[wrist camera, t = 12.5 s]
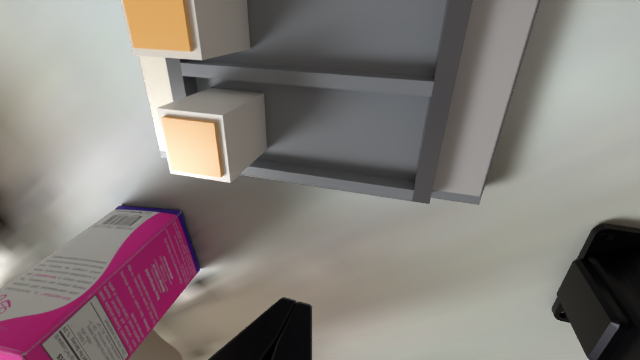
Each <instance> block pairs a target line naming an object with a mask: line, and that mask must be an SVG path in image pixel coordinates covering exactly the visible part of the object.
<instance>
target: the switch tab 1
mask: <svg viewBox="0 0 640 360" xmlns="http://www.w3.org/2000/svg"><path fill="white" fill-rule="evenodd" d="M120 1H121V6H122V10H123V14H124V19H125V23H126V28H127V32H128V36H129V41H130V45H131V49H132V54H133V55H135V56H149V57H163V58H177V59H192V60H205V59H210V58H214V57H218V56H222V55H227V54H231V53H235V52H239V51H244V50H248V49H250V36H249V22H248V8H247V0H120Z"/></svg>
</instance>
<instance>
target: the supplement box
mask: <svg viewBox="0 0 640 360" xmlns="http://www.w3.org/2000/svg"><path fill="white" fill-rule="evenodd" d="M199 270H200V268H199V265H198V262H197V259H196V256H195V253H194V249H193V246H192V243H191V240H190V237H189V234H188V230H187V227H186V224H185V220H184V216H183V213H182V211H180V210H170V209H158V208H145V207H132V206H118V207H117V208H116V209H115V210H113V211H112V212H110V213H109V214H108V215H106V216H105V217H103V218H102V219H101V220H99V221H98V222H96V223H95V224H93V225H92V226H91V227H89V228H88V229H86V230H85V231H83V232H82V233H81V234H79V235H78V236H76V237H75V238H73V239H72V240H71V241H69V242H68V243H66V244H65V245H63V246H62V247H60V248H59V249H58V250H56V251H55V252H53V253H52V254H50V255H49V256H48V257H46V258H45V259H43V260H42V261H40V262H39V263H37V264H36V265H35V266H33V267H32V268H30V269H29V270H27V271H26V272H24V273H23V274H22V275H20V276H19V277H17V278H16V279H14V280H13V281H12V282H10V283H9V284H7V285H6V286H4V287H3V288H2V289H0V360H128V359H129V358H130V357H131V355H132V354H133V353H134V351H135V350H136V349H137V348H138V346H139V345H140V344H141V342H142V341H143V340H144V339H145V337H146V336H147V335H148V334H149V332H150V331H151V330H152V329H153V328H154V326H155V325H156V324H157V322H158V321H159V320H160V319H161V318H162V316H163V315H164V314H165V313H166V311H167V310H168V309H169V308H170V306H171V305H172V304H173V303H174V301H175V300H176V299H177V298H178V296H179V295H180V294H181V293H182V291H183V290H184V289H185V288H186V286H187V285H188V284H189V283H190V282H191V280H192V279H193V278H194V277H195V275H196V274H197V273H198V272H199Z"/></svg>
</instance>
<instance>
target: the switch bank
mask: <svg viewBox="0 0 640 360" xmlns="http://www.w3.org/2000/svg"><path fill="white" fill-rule="evenodd" d="M539 3H540V0H247V8H248V22H249V36H250V49H248V50H244V51H239V52H235V53H231V54H227V55H222V56H218V57H214V58H210V59H205V60H192V59H177V58H163V57H149V56H139V59H140V63H141V68H142V72H143V77H144V81H145V86H146V91H147V95H148V100H149V104H150V109H151V113H152V118H153V122H154V127H155V131H156V136H157V140H158V145H159V149H160V154H161V158H167V155H166V150H165V145H164V141H163V136H162V131H161V127H160V122H159V117H158V113H157V108H158V107H161V106H163V105H166V104H169V103H171V102H174V101H176V100H179V99H182V98H184V97H187V96H190V95H192V94H195V93H198V92H200V91H203V90H206V89H208V88H217V89H227V90H238V91H249V92H260V93H264V101H265V119H266V138H267V150H266V151H264V152H263V153H262V154H261V155H260V156H259V157H258V158H257V159H256V160H255V161H254V162H253V163H252V164H250V165H249V166H248V167H247V168H246V169H245V170H244V171H243V172H242V173H241V174H240V175H243V176H250V177H256V178H263V179H269V180H276V181H282V182H289V183H296V184H302V185H309V186H315V187H322V188H328V189H335V190H341V191H348V192H355V193H361V194H368V195H374V196H381V197H387V198H394V199H401V200H407V201H414V202H420V203H427V204H429V203H430V198H437V199H444V200H451V201H458V202H464V203H471V204H478V205H479V203H480V200H481V196H482V193H483V190H484V186H485V183H486V180H487V176H488V173H489V170H490V166H491V163H492V160H493V156H494V153H495V150H496V146H497V143H498V140H499V136H500V133H501V130H502V126H503V123H504V120H505V116H506V113H507V109H508V106H509V103H510V99H511V96H512V93H513V89H514V86H515V83H516V79H517V76H518V73H519V69H520V66H521V63H522V59H523V56H524V53H525V49H526V46H527V43H528V39H529V36H530V33H531V29H532V26H533V23H534V19H535V16H536V13H537V9H538V6H539Z"/></svg>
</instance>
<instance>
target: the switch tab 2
mask: <svg viewBox="0 0 640 360" xmlns="http://www.w3.org/2000/svg"><path fill="white" fill-rule="evenodd" d="M157 113H158V117H159V122H160V127H161V131H162V136H163V141H164V145H165V150H166V155H167V160H168V164H169V169H170V173H171V174H178V175H184V176H190V177H196V178H203V179H209V180H215V181H222V182H228V183H231V182H232V181H233V180H234V179H235V178H236V177H237V176H239V175H240V174H241V173H242V172H243V171H244V170H245V169H246V168H247V167H248V166H249V165H250V164H252V163H253V162H254V161H255V160H256V159H257V158H258V157H259V156H260V155H261V154H262V153H263V152H264V151H266V150H267V138H266V119H265V101H264V93H260V92H249V91H238V90H227V89H217V88H208V89H206V90H203V91H200V92H198V93H195V94H192V95H190V96H187V97H184V98H182V99H179V100H176V101H174V102H171V103H169V104H166V105H163V106H161V107H158V108H157Z"/></svg>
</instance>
